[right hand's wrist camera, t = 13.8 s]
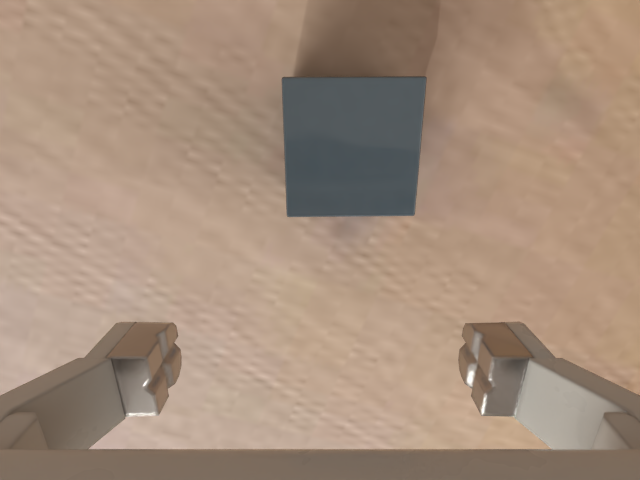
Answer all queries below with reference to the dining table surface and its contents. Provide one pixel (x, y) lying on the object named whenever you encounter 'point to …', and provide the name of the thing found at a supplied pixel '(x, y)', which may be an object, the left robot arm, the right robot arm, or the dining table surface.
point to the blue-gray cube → (352, 145)
